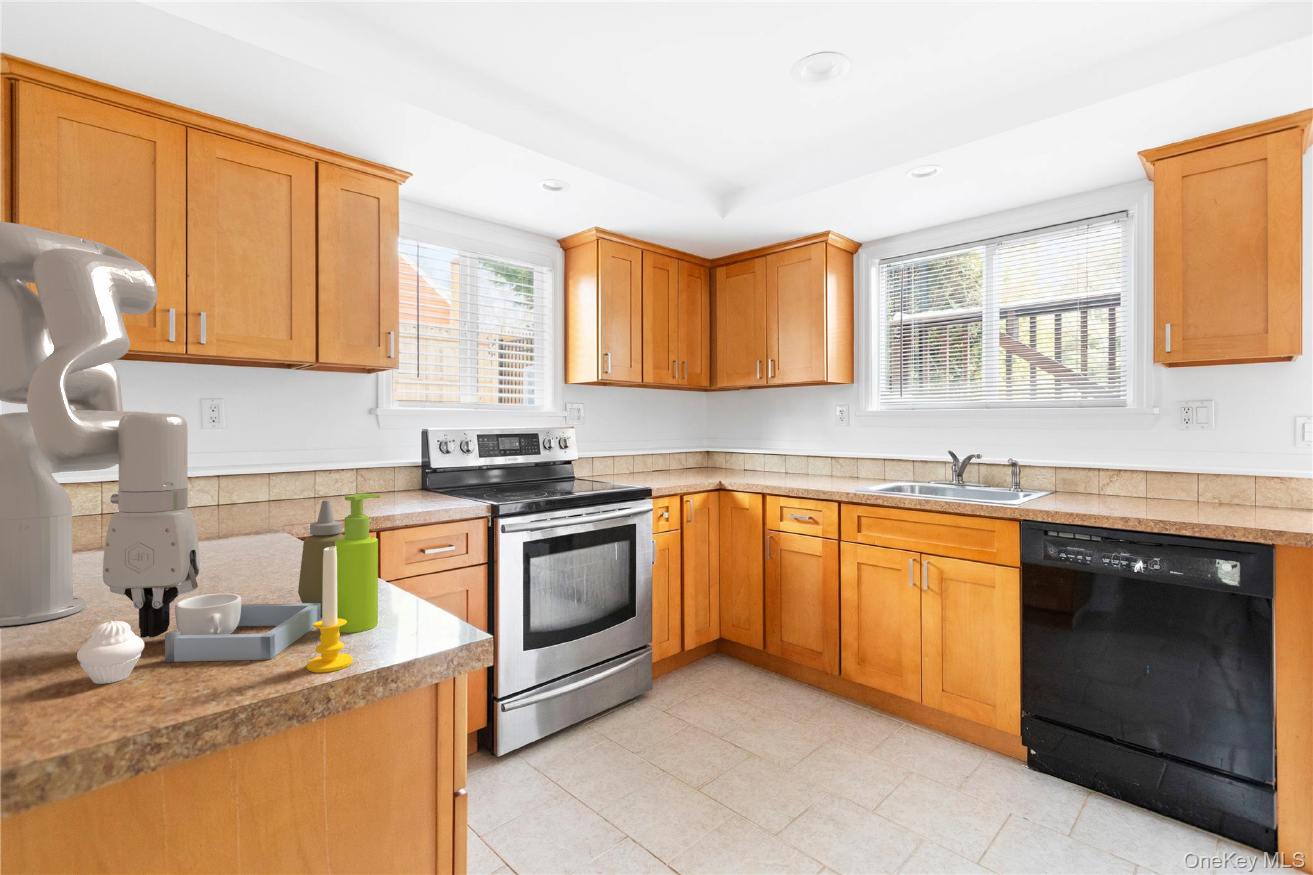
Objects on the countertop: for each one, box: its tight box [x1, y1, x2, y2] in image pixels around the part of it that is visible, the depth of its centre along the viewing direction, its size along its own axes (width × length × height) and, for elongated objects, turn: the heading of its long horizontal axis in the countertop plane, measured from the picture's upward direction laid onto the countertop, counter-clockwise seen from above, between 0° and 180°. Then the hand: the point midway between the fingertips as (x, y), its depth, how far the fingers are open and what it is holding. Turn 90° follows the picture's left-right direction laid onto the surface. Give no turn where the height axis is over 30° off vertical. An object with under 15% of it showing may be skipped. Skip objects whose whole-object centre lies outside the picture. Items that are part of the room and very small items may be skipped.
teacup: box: [174, 592, 242, 635], centre depth 90 cm, size 10×8×5 cm
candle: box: [306, 545, 354, 674], centre depth 82 cm, size 5×5×16 cm
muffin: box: [76, 620, 145, 685], centre depth 76 cm, size 6×6×7 cm
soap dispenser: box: [335, 492, 381, 634], centre depth 97 cm, size 6×7×20 cm
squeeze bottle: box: [297, 499, 344, 616], centre depth 104 cm, size 8×8×18 cm
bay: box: [164, 602, 322, 663], centre depth 90 cm, size 13×16×4 cm
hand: (154, 634), depth 89 cm, fingers closed
